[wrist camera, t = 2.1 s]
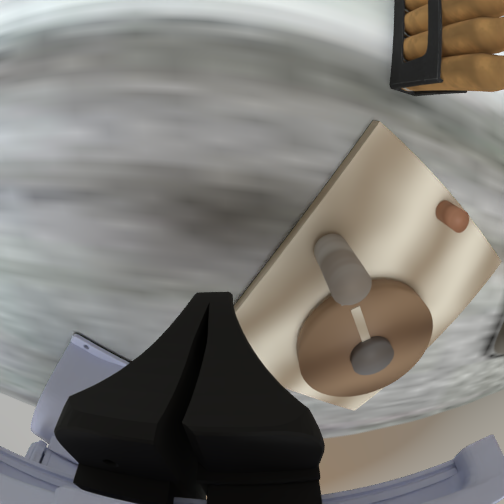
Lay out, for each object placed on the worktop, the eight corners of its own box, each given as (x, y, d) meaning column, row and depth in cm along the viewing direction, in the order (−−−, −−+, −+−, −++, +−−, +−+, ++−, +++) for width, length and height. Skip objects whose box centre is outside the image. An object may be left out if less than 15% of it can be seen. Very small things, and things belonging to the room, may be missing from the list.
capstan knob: (428, 349, 22) (449, 384, 18) (321, 397, 23) (329, 437, 20) (400, 198, 16) (437, 225, 12) (244, 270, 18) (244, 314, 14)
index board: (203, 344, 22) (199, 374, 19) (372, 120, 15) (396, 123, 13) (352, 402, 26) (359, 426, 23) (494, 256, 19) (515, 273, 17)
